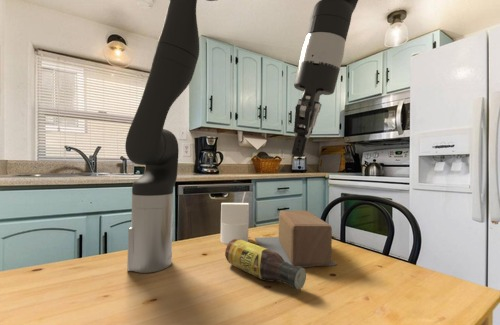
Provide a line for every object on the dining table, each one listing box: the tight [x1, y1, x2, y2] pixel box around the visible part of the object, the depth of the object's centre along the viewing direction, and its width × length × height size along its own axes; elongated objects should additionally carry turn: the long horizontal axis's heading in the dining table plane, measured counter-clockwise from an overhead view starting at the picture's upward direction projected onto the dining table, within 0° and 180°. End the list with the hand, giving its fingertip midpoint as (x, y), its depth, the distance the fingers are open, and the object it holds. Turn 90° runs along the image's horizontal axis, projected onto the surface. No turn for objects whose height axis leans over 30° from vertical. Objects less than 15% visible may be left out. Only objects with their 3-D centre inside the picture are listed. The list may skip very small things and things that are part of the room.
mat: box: [254, 236, 338, 268], centre depth 71 cm, size 16×24×1 cm, turn 10°
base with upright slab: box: [220, 202, 250, 245], centre depth 79 cm, size 9×9×12 cm
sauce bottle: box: [224, 239, 307, 290], centre depth 54 cm, size 6×6×20 cm
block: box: [278, 210, 333, 266], centre depth 68 cm, size 10×10×20 cm
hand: (297, 155), depth 48 cm, fingers closed
